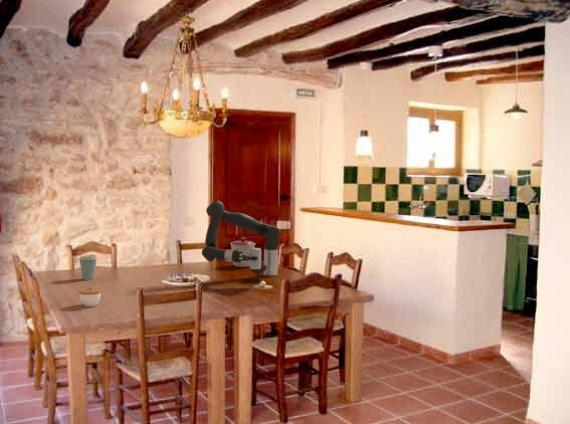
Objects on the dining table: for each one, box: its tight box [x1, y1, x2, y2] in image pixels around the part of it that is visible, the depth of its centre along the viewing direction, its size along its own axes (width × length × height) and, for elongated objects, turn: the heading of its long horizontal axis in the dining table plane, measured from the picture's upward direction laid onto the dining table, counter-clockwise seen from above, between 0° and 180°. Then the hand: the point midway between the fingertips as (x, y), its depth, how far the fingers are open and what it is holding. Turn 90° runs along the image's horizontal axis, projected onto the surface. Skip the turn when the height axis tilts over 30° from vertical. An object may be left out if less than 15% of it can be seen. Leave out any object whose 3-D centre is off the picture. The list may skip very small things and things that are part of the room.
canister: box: [230, 236, 256, 268], centre depth 435 cm, size 18×18×21 cm
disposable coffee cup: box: [79, 254, 98, 281], centre depth 376 cm, size 11×11×15 cm
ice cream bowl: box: [250, 259, 267, 281], centre depth 385 cm, size 11×11×15 cm
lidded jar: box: [78, 286, 102, 307], centre depth 310 cm, size 11×11×9 cm
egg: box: [259, 280, 267, 287], centre depth 363 cm, size 3×3×3 cm
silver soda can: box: [249, 247, 262, 270], centre depth 363 cm, size 6×6×12 cm
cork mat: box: [252, 284, 273, 290], centre depth 363 cm, size 12×12×1 cm
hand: (259, 257), depth 363 cm, fingers closed on silver soda can, 6 cm apart
